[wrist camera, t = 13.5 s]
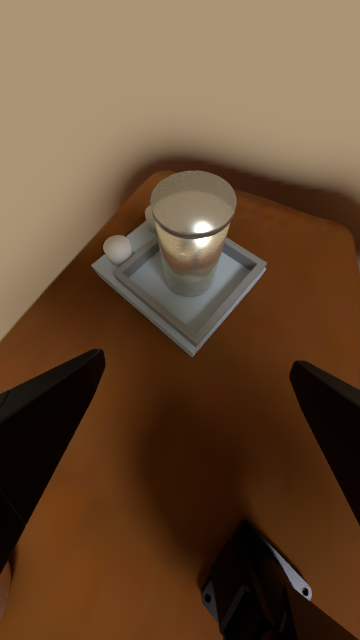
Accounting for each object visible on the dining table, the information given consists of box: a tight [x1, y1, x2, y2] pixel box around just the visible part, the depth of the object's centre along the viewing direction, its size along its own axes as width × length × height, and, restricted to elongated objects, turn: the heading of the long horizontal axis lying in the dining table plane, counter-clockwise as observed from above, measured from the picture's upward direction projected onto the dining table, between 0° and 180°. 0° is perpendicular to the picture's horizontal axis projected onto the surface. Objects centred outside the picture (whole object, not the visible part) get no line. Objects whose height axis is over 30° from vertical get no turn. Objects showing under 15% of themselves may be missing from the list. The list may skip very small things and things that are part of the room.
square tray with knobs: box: [91, 205, 267, 357], centre depth 23 cm, size 17×14×4 cm
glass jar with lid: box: [150, 171, 236, 297], centre depth 18 cm, size 8×6×10 cm
